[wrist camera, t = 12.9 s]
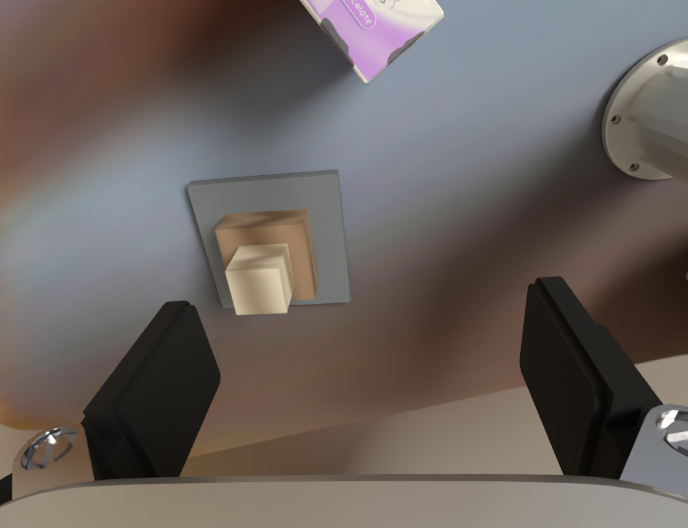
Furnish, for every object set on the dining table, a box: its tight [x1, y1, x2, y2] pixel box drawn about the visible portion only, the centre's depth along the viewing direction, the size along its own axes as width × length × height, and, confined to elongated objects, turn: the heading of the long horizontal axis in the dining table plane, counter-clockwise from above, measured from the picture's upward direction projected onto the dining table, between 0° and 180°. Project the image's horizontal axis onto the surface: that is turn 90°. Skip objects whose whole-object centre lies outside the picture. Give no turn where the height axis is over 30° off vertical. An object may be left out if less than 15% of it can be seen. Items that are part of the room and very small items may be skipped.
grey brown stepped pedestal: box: [187, 170, 351, 309], centre depth 46 cm, size 16×16×6 cm
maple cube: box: [225, 243, 295, 315], centre depth 41 cm, size 5×5×5 cm
